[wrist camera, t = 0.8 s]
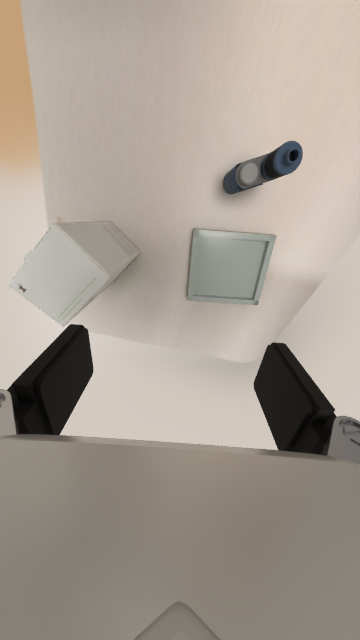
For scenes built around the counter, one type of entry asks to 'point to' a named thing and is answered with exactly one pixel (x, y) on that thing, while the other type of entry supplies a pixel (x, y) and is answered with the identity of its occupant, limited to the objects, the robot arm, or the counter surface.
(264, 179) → the vaping device
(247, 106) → the counter surface
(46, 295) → the skincare box
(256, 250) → the tray
